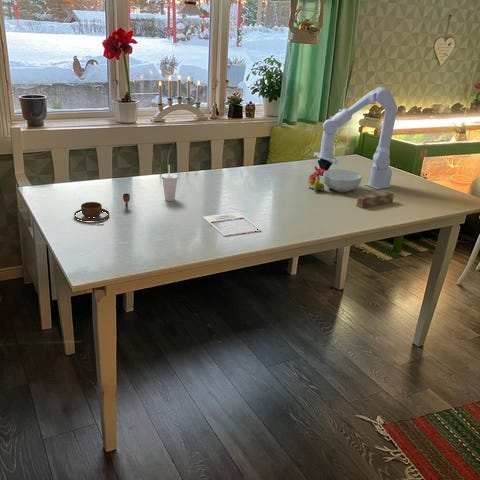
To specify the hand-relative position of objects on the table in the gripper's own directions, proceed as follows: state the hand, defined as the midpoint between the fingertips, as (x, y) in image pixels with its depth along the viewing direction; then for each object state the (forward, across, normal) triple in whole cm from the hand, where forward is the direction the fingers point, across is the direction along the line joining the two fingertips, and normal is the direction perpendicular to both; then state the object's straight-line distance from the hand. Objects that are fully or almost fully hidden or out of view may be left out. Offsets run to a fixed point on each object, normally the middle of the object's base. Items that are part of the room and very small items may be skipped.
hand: (323, 175), depth 234 cm
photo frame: (+3, +28, -67) cm, 73 cm away
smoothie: (+3, -4, -76) cm, 76 cm away
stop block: (+3, +33, 0) cm, 33 cm away
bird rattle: (+3, +8, -12) cm, 15 cm away
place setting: (+4, +3, -105) cm, 105 cm away
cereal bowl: (+3, +12, 0) cm, 12 cm away
